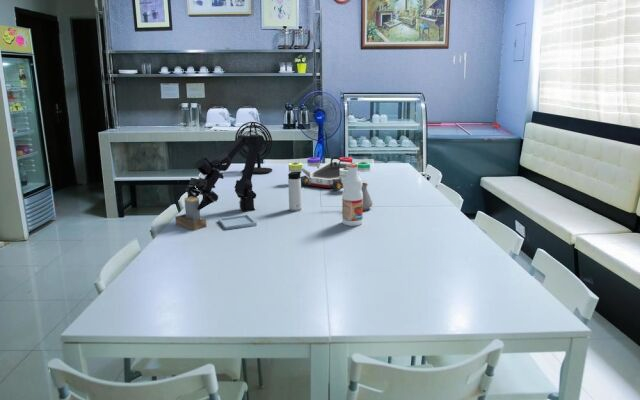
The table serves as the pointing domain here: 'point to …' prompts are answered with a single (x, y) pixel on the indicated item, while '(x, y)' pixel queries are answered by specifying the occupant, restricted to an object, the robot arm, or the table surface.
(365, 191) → the coffee pot
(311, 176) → the cart
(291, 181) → the travel mug
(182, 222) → the walnut bay
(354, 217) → the fruit juice
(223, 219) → the slate tray
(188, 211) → the grey upright block piece
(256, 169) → the desk fan
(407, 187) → the table surface
